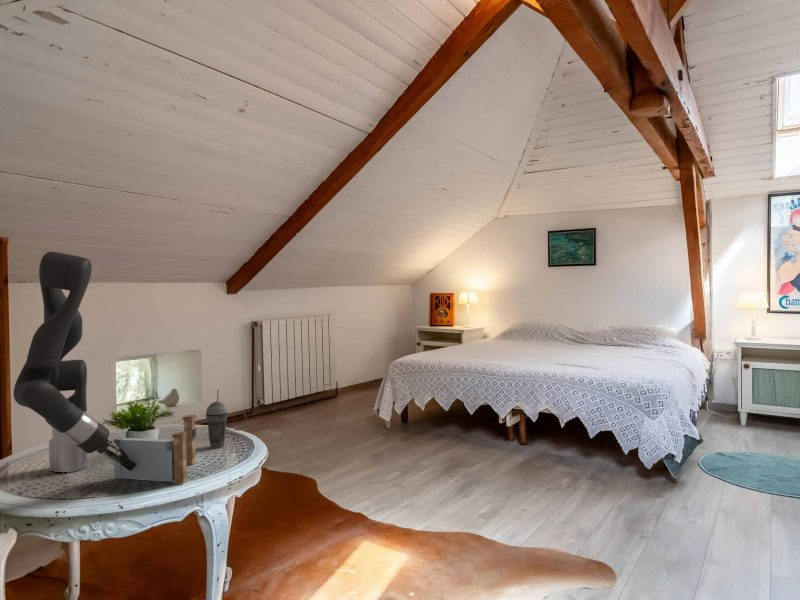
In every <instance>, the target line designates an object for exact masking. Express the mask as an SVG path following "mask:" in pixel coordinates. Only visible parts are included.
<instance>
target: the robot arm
mask: <svg viewBox="0 0 800 600" xmlns="http://www.w3.org/2000/svg"><path fill="white" fill-rule="evenodd" d="M40 259H41V260H40V261H39V267H38V278H39V284H40V291H41V294H42V295H41V296H42V302H43V303H42V304H43V323H42V324H41V325H40V326H39V327H38V328H37V329H36V331H35V332H34V334H33V335H32V336H33V337H32V339H31V343H30V346H29V349H28V353H27V357H26V361H25V363H24V365H23V367H22V369H21V370H20V373H19V374H18V376H17V379H16V381H15V383H14V388H13V398H14V401H15V402H16V404H18V405H19V406H21V407H25V408H29V410H32V411H33V412H35V413H36V414H37V415H39V416H40V417H42V418H43V419H44V420H45V422H46V423H47V425H49V426H50V427H51V437H52V438H51V439H49V440H48V455H49V456H48V458H49V472H50V471H55V472H63V473H62V474H65V473H64V472H67V473H72V472H79V471H81V470H84V469H86V468H87V467H88V466H89V454H92V453H95V452H97V454H99V455H101V456H102V455H103V456H104V457H105V458H106V459H108V460H110V461H113V462H114V461H115V462H116V463H118V464H121V465H122V466H123V467H125V468H126V469H127V470H130V471H132V470H133V469H134V467H135V466H136V464H135V463H134V462H133V461H131V460H130V459H129V458H128V457H129V456H128V455H127V454H126V453H125V452H124V451H123V449H120V448H119V447H118V446H117V445H116V443H114V440H109V436H110V430H109V428H107V427H106V426H104V425H103V424H102V423H100V422H99V421H98V420H97V419H96V418H94V417H93V416H92V415H90V414H88V411H87V410H88V409H87V384H88V383H87V380H88V370H87V369H88V367H87V363H86V361H85V360H84V359H70V360H63V359H64V358H65V356H67V355H68V354H69V353H70V352H71V351H72V350H73V349H75V347H77V345H78V344H79V343H80V341H81V339H82V337H83V318H82V314H81V313H80V311H79V308H80V306H81V303H82V301H83V298H84V296H85V293H86V292H87V289H88V285H89V283H90V280H91V276H92V271H93V269H92V268H93V267H92V262H91V260H90V259H89V258H87V257H83V256H78V255H73V254H69V253H64V252H57V251H48V252H46V253H44V255H43V256H42V257H41V258H40ZM64 290H66V291H69V293H68V295H65V293H64V292H63V291H64ZM65 391H74V393H72V394H71V395H70V396H69V397H67V398H66V396H65V395H64V394H62V392H65ZM55 472H54V473H55Z"/></svg>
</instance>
